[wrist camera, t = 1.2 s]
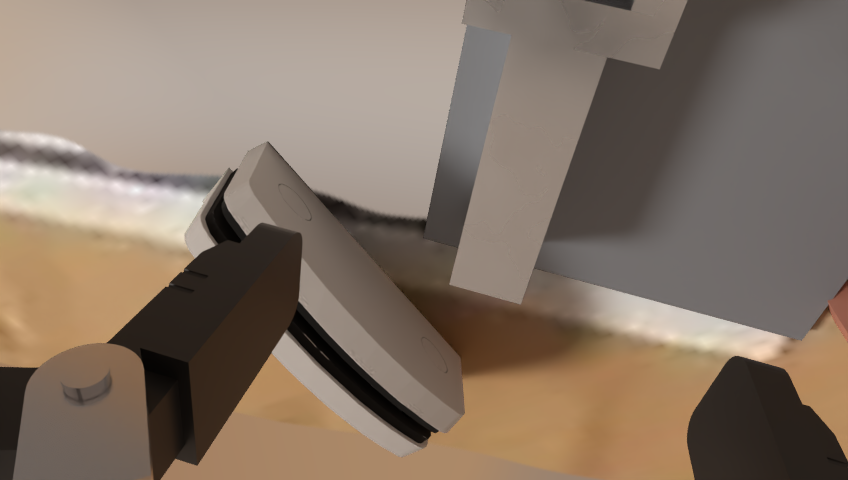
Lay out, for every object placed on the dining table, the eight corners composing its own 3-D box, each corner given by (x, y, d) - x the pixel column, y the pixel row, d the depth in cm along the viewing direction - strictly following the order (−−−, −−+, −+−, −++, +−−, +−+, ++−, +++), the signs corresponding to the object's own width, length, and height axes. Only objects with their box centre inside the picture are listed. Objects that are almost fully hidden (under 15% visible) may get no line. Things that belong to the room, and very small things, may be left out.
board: (531, -274, 18) (529, -280, 17) (1153, -162, 16) (1179, -165, 16) (426, 230, 29) (423, 238, 28) (795, 329, 27) (801, 340, 26)
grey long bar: (525, -201, 18) (512, -230, 14) (716, -164, 18) (762, -184, 14) (435, 216, 27) (411, 274, 23) (561, 250, 27) (559, 315, 22)
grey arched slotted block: (206, 187, 30) (121, 250, 21) (271, 132, 30) (212, 172, 20) (400, 389, 35) (402, 514, 26) (460, 346, 34) (485, 459, 25)
